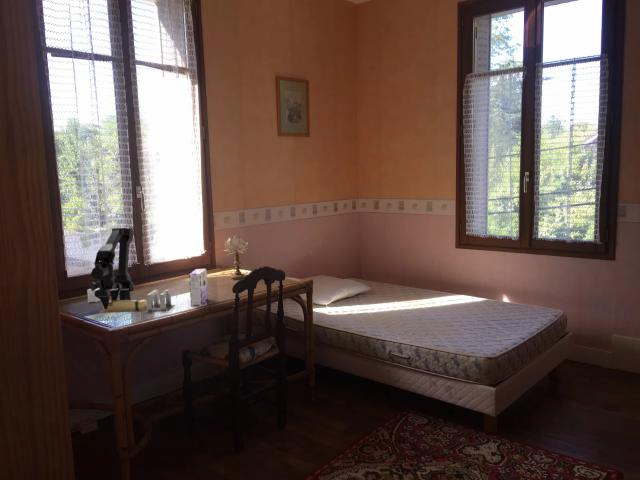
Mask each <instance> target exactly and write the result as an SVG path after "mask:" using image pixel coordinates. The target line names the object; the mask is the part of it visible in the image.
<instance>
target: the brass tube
mask: <svg viewBox="0 0 640 480" xmlns="http://www.w3.org/2000/svg"><path fill="white" fill-rule="evenodd" d="M147 306H148V305H147V299H141V298H140V299H131V300H119V299H117V300H111V299H110V300H109V304H108V308H107V309H105V308H104V306H103V305H102V310H103V311H105V310H144V309H146V308H147Z"/></svg>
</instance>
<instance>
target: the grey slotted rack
mask: <svg viewBox="0 0 640 480" xmlns="http://www.w3.org/2000/svg"><path fill="white" fill-rule="evenodd" d="M159 292H160V291H159V289H153V290H152V291H151V292H149V293H148V294H146V300H147V308H146V309H144V310H105V311H103V309H101V310H99V311H98V312H97V313H102V314H103V313H106V314H107V313H142V312H143V313H147V312H149V313H150V312H151V313H152V312H169V311H171V310H172V309H173V308H174V307H175V306H176V304H172V293H171V289H170V288H169V289H165V290H164V291H163V292H161V293H160V294H159Z"/></svg>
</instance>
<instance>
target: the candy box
mask: <svg viewBox="0 0 640 480" xmlns="http://www.w3.org/2000/svg"><path fill="white" fill-rule="evenodd" d="M207 273H208V271H207V268H195V269H194V270H193V271H192V272H190V273H189V275H188V277H189V278H188V279H189V294H190V296H189V298H190V306H191V307H193V306H194V307H200V306H199V305H202V306H203V305H204V304H205V303H206V302H207V301H208V300H209V289H208V288H209V287H208V274H207Z"/></svg>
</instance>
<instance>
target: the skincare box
mask: <svg viewBox="0 0 640 480" xmlns="http://www.w3.org/2000/svg"><path fill="white" fill-rule="evenodd" d="M98 289H99V288H98ZM98 289H96V290H98ZM96 290H94V291H92V290H91V289H89V288H88V289H87V290H86V291H87V292H86V293H87V303H88V304H89V303H98V302H101V300H100V299H99V298H97V297H95V295H94V292H95V291H96Z"/></svg>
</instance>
